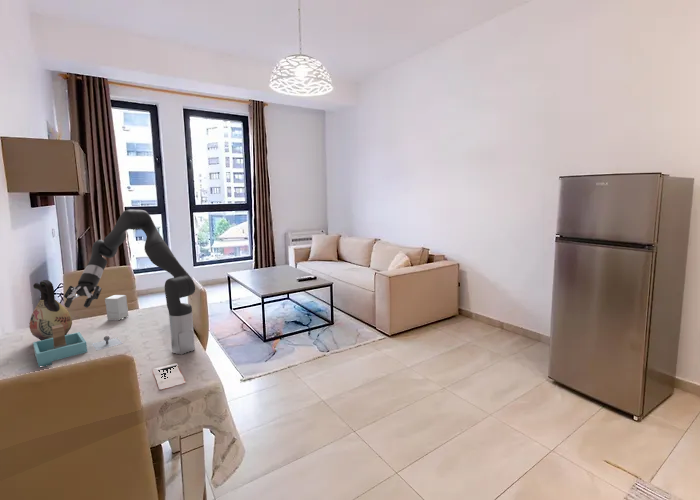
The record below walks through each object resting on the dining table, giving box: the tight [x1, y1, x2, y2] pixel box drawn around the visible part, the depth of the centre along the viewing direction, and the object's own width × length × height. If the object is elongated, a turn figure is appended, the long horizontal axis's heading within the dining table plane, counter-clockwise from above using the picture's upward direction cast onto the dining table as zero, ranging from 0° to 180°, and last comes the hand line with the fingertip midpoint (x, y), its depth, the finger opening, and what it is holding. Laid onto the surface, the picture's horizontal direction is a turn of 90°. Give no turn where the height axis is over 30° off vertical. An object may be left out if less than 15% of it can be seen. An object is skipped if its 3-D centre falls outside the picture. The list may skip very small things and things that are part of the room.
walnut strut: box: [51, 324, 68, 349], centre depth 151 cm, size 4×4×12 cm
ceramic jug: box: [28, 279, 73, 341], centre depth 165 cm, size 17×15×30 cm
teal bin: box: [32, 331, 88, 368], centre depth 151 cm, size 16×16×6 cm
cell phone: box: [154, 362, 179, 379], centre depth 134 cm, size 9×18×1 cm, turn 36°
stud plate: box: [91, 335, 124, 351], centre depth 160 cm, size 10×10×5 cm
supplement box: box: [104, 294, 129, 321], centre depth 196 cm, size 7×7×13 cm
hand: (76, 306), depth 160 cm, fingers open, 8 cm apart
